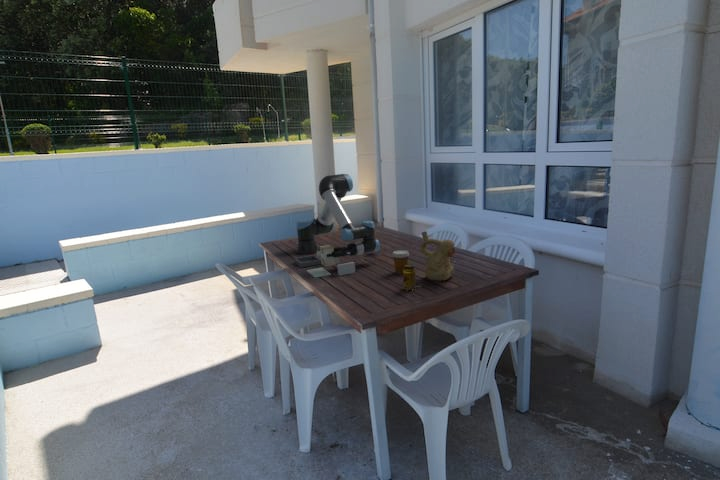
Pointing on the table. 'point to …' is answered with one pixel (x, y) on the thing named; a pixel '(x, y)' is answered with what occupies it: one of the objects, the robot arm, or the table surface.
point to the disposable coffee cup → (400, 260)
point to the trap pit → (308, 261)
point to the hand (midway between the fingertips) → (319, 255)
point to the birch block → (329, 260)
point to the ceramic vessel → (438, 258)
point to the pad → (318, 272)
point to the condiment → (409, 277)
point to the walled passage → (344, 267)
